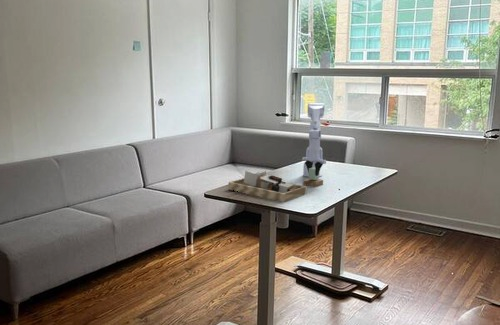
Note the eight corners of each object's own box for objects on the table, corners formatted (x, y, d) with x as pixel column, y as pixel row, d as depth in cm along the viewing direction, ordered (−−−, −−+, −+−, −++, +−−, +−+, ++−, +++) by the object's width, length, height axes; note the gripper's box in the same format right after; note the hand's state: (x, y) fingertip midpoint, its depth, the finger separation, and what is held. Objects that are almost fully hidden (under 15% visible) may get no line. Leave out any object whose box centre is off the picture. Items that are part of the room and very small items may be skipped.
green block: (308, 178, 268) (308, 168, 267) (312, 177, 271) (312, 167, 270) (314, 179, 266) (314, 169, 265) (318, 178, 269) (318, 168, 268)
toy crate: (228, 189, 256) (228, 182, 256) (252, 182, 272) (252, 176, 271) (283, 202, 234) (284, 194, 233) (306, 193, 249) (306, 186, 248)
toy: (300, 198, 252) (252, 182, 266) (303, 181, 249) (254, 166, 263) (290, 204, 242) (240, 187, 255) (293, 186, 239) (242, 170, 253)
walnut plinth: (303, 185, 269) (303, 180, 268) (311, 182, 275) (311, 177, 274) (315, 187, 264) (315, 182, 263) (322, 185, 270) (323, 179, 269)
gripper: (299, 150, 267) (298, 174, 270) (321, 153, 258) (320, 177, 261) (306, 148, 272) (305, 172, 275) (328, 151, 263) (327, 175, 266)
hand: (313, 174), depth 268 cm, fingers closed on green block, 4 cm apart
